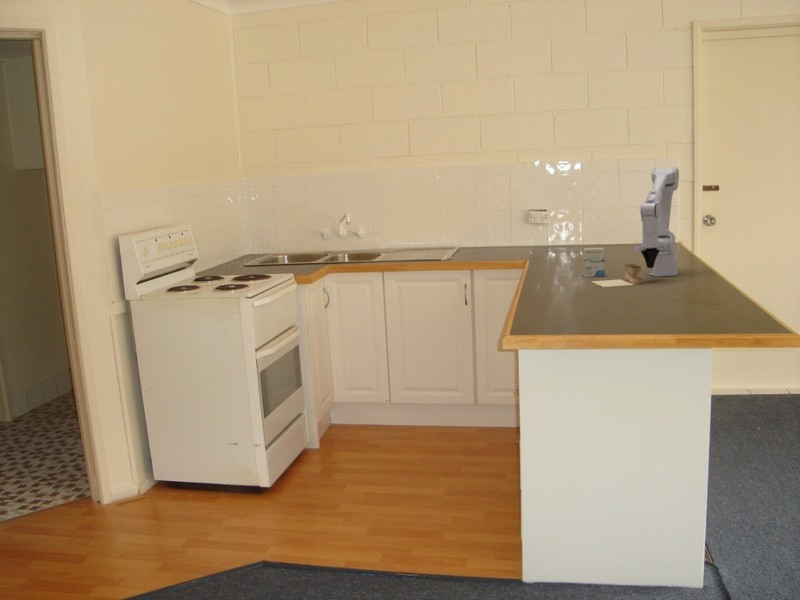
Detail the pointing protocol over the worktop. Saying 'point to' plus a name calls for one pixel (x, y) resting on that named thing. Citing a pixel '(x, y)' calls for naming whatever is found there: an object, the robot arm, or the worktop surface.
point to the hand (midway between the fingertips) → (650, 267)
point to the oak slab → (633, 273)
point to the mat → (612, 283)
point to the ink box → (594, 262)
